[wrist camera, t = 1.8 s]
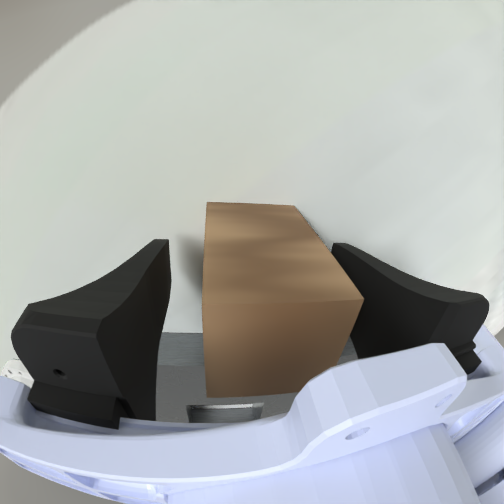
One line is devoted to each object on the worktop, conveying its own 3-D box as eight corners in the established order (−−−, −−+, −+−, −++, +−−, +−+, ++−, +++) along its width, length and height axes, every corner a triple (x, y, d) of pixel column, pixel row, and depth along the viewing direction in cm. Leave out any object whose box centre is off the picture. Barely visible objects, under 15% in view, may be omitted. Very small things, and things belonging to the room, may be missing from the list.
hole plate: (357, 325, 17) (372, 351, 15) (310, 419, 24) (315, 439, 22) (84, 326, 14) (72, 355, 12) (132, 424, 21) (130, 445, 19)
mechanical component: (16, 392, 19) (90, 424, 22) (6, 421, 15) (84, 457, 18) (-3, 341, 15) (88, 385, 18) (-22, 376, 11) (77, 428, 14)
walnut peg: (293, 205, 13) (363, 298, 7) (282, 277, 14) (324, 388, 8) (206, 202, 12) (201, 304, 6) (205, 277, 14) (206, 397, 8)
